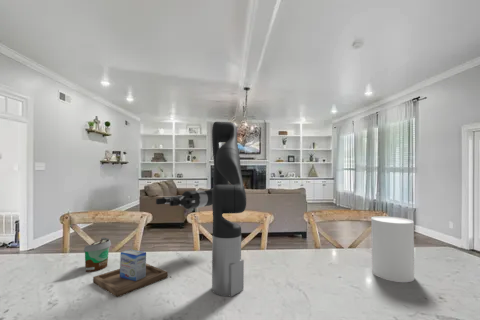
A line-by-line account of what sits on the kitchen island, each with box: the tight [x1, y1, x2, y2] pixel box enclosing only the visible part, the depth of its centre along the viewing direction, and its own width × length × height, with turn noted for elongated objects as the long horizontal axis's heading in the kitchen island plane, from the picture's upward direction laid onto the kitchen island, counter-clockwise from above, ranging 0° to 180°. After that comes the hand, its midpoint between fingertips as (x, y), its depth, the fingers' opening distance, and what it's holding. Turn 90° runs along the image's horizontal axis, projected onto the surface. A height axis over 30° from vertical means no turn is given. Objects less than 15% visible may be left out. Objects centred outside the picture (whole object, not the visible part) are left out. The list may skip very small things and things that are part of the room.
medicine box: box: [119, 248, 147, 281], centre depth 91 cm, size 8×4×9 cm, turn 65°
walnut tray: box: [92, 263, 169, 298], centre depth 90 cm, size 16×18×2 cm
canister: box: [370, 215, 415, 283], centre depth 97 cm, size 14×14×20 cm
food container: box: [83, 237, 112, 273], centre depth 102 cm, size 12×6×10 cm, turn 179°
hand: (163, 202), depth 101 cm, fingers open, 8 cm apart
